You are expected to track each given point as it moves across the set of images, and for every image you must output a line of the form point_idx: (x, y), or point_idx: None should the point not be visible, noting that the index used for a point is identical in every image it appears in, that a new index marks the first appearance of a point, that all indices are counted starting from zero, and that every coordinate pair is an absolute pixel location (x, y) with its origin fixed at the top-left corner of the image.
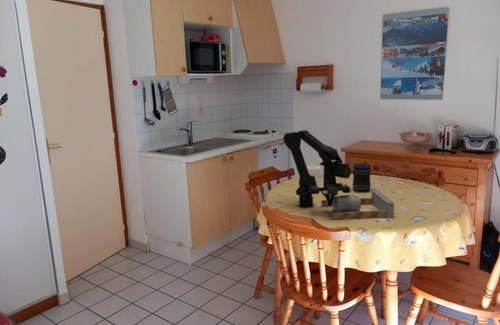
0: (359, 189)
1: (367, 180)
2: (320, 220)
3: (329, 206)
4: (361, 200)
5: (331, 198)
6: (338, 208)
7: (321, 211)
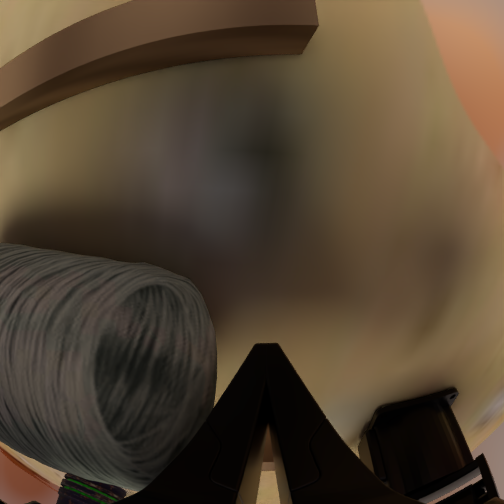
0: (93, 485)
1: (59, 502)
2: (421, 37)
3: (268, 343)
4: None
5: (226, 460)
6: (132, 266)
7: (347, 325)
